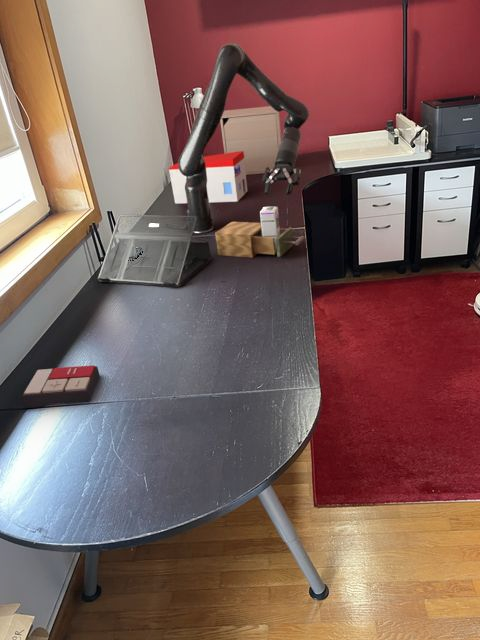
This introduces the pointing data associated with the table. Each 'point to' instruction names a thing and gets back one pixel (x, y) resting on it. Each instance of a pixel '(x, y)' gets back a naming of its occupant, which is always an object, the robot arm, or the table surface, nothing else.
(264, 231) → the syrup box
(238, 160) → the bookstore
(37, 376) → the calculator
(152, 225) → the laptop stand
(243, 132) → the cabinet
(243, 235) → the cabinet
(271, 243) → the drawer
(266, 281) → the table surface
